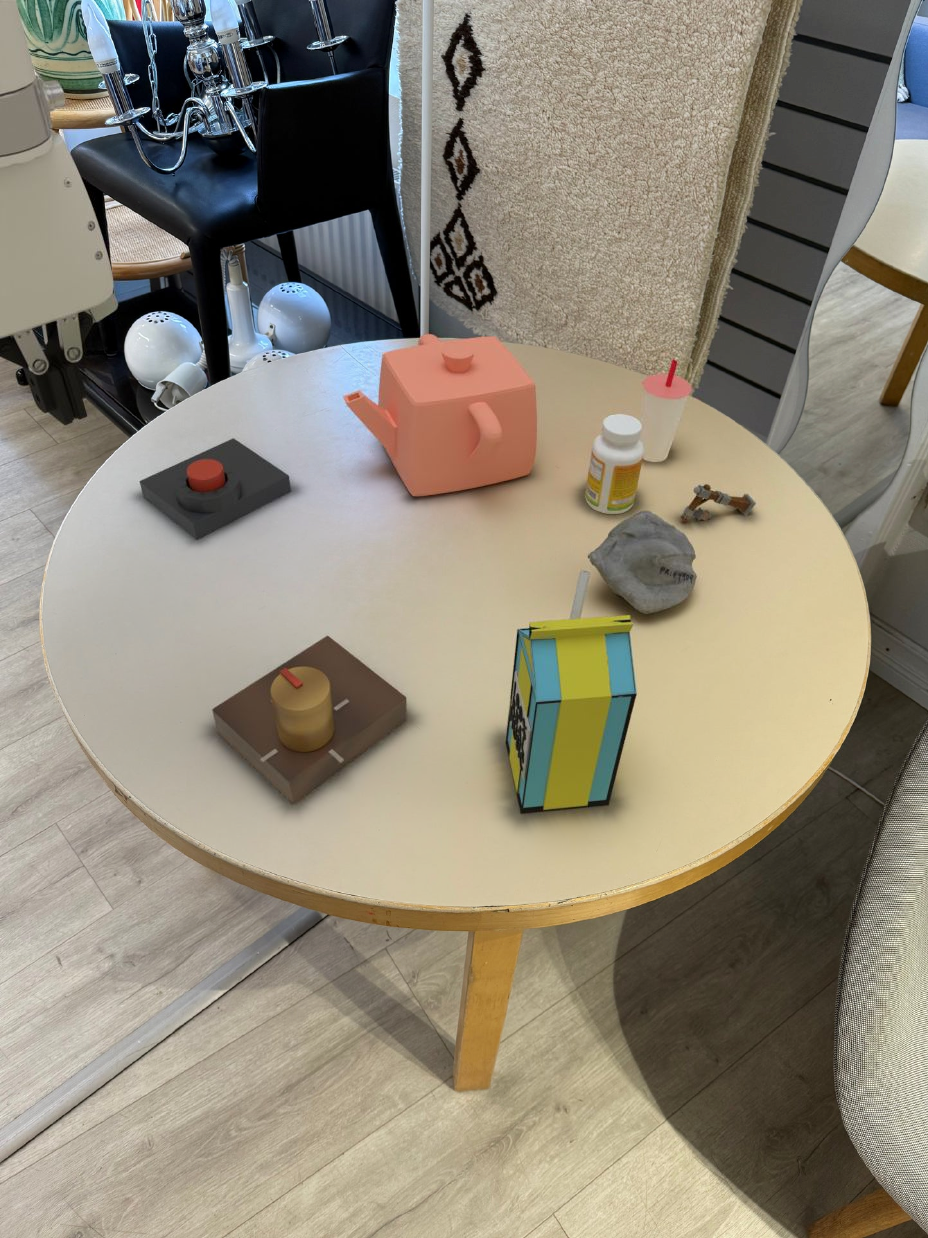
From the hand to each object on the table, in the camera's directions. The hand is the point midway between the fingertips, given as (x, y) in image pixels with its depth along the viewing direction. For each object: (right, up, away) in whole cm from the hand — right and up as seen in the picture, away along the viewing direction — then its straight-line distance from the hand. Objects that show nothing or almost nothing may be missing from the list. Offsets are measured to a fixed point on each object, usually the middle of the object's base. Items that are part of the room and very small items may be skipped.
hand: (65, 413), depth 62 cm
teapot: (+24, +3, +41) cm, 47 cm away
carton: (+35, -26, +11) cm, 45 cm away
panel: (+15, -23, +13) cm, 30 cm away
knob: (+15, -23, +9) cm, 29 cm away
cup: (+49, +5, +44) cm, 66 cm away
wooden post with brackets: (+55, -3, +35) cm, 65 cm away
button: (+1, 0, +31) cm, 31 cm away
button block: (+1, -1, +35) cm, 35 cm away
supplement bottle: (+43, -1, +37) cm, 57 cm away
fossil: (+44, -12, +26) cm, 53 cm away
